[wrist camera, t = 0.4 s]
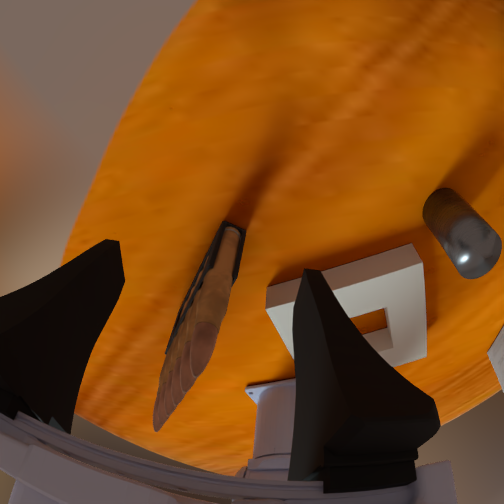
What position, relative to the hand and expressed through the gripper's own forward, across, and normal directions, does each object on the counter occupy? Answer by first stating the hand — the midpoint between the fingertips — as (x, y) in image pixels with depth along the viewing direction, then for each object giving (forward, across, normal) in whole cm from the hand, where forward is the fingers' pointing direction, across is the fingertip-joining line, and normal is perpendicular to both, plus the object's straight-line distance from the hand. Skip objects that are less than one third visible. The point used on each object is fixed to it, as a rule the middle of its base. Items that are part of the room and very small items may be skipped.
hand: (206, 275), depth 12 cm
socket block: (+10, -11, +11) cm, 19 cm away
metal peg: (+10, -15, -1) cm, 18 cm away
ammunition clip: (+10, +2, +9) cm, 14 cm away
